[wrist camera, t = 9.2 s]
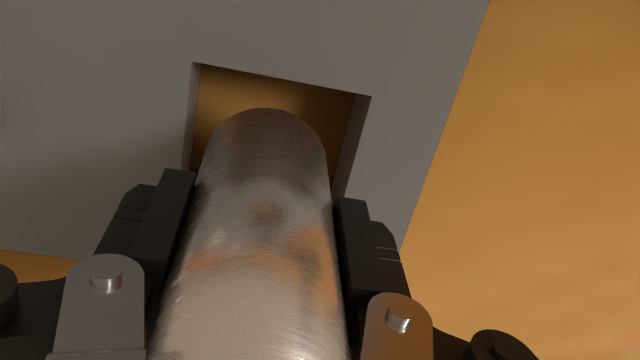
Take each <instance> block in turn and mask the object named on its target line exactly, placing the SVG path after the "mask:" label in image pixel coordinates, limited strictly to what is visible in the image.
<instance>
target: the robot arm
mask: <svg viewBox="0 0 640 360" xmlns="http://www.w3.org/2000/svg"><path fill="white" fill-rule="evenodd" d="M195 178H196V173H195V172H190V171H184V170H178V169H172V168H165V169H164V172H163V174H162V176H161V178H160V181H159V183H158V185H157V186H152V185H146V184H138V185H137V186H135V187H134V188H132V189H131V190H129V191H128V192H126V193H125V194H124V196H123V198H122V200H121V202H120V204H119V206H118V209H117V210H116V212H115V214H114V216H113V219H111V221H110V223H109V225H108V227H107V229H106V231H105V233H104V235H103V237H102V239H101V241H100V242H99V244H98V246H97V248H96V250H95V252H94V254H93V256H89V257H87V258H84V259H82V260H80V261H78V262H77V263H76V264H74V265H73V266H72V267H71V268H70V270H69V271H68V273H67V276H66V277H63V278H60V279H56V280H50V281H41V282H30V283H17V277H16V275H15V273H14V272H13V271H12V270H11V269H10V268H8V267H6V266H4V265H1V264H0V360H146V348H145V347H144V346H145V343H146V340H147V336H148V333H149V330H150V327H151V324H152V320H153V317H154V314H155V311H156V307H157V304H158V301H159V298H160V295H161V292H162V290H163V287H164V284H165V280H166V277H167V274H168V271H169V268H170V264H171V261H172V258H173V255H174V251H175V248H176V245H177V242H178V238H179V235H180V232H181V229H182V226H183V222H184V219H185V216H186V213H187V209H188V206H189V203H190V200H191V196H192V193H193V190H194V187H195ZM332 209H333V217H334V225H335V233H336V241H337V249H338V257H339V265H340V273H341V281H342V289H343V297H344V305H345V313H346V321H347V329H348V337H349V345H350V353H351V360H539V359H538V358H537V357H536V356H535V355H534V354H533V353H532V351H531V350H530V349H529V348H528V347H527V346H526V345H525V344H523V343H522V342H521V341H519V340H518V339H516V338H515V337H513V336H511V335H509V334H507V333H504V332H501V331H498V330H490V329H487V330H481V331H479V332H477V333H475V335H474V336H473V337H472V339H471V341H470V342H468V341H465V340H462V339H460V338H457V337H455V336H452V335H449V334H447V333H444V332H442V331H440V330H438V329H436V328H435V327H433V324H432V319H431V317H430V315H429V313H428V312H427V310H426V309H425V308H424V307H423V306H422V305H421V304H419V303H418V302H417V301H415V300H413V299H412V298H411V295H410V291H409V288H408V284H407V281H406V277H405V274H404V270H403V267H402V263H400V256H399V253H398V251H397V246H396V242H395V239H394V235H393V234H392V233H391V232H390V231H389V230H388V228H387V227H386V226H385V225H384V224H383V222H377V221H371V220H370V216H369V212H368V208H367V203H366V201H365V200H359V199H353V198H347V197H341V196H337V197H336V199H335V201H334V205H333V208H332Z"/></svg>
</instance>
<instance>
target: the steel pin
mask: <svg viewBox="0 0 640 360" xmlns="http://www.w3.org/2000/svg"><path fill="white" fill-rule="evenodd" d="M144 347H145V348H146V360H351V353H350V345H349V337H348V329H347V321H346V313H345V305H344V297H343V289H342V281H341V273H340V265H339V257H338V249H337V241H336V233H335V225H334V217H333V209H332V201H331V193H330V185H329V177H328V169H327V161H326V153H325V150H324V146H323V144H322V142H321V140H320V138H319V136H318V135H317V133H316V132H315V131H314V130H313V128H312V127H311V126H310V125H308V124H307V123H306V122H305V121H304V120H302V119H301V118H299V117H297V116H295V115H294V114H291V113H289V112H286V111H283V110H279V109H273V108H255V109H249V110H245V111H242V112H240V113H237V114H235V115H233V116H231V117H229V118H228V119H227V120H225V121H224V122H223V123H222V124H221V125H219V126H218V127H217V129H216V130H215V131H214V133H213V134H212V136H211V137H210V139H209V141H208V144H207V147H206V150H205V153H204V156H203V160H202V163H201V166H200V169H199V173H198V176H197V179H196V182H195V187H194V190H193V193H192V196H191V200H190V203H189V206H188V209H187V213H186V216H185V219H184V222H183V226H182V229H181V232H180V235H179V238H178V242H177V245H176V248H175V251H174V255H173V258H172V261H171V264H170V268H169V271H168V274H167V277H166V280H165V284H164V287H163V290H162V292H161V295H160V298H159V301H158V304H157V307H156V311H155V314H154V317H153V320H152V324H151V327H150V330H149V333H148V336H147V340H146V343H145V346H144Z"/></svg>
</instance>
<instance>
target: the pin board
mask: <svg viewBox="0 0 640 360" xmlns="http://www.w3.org/2000/svg"><path fill="white" fill-rule="evenodd" d="M489 1H490V0H0V250H7V251H14V252H22V253H29V254H37V255H44V256H51V257H59V258H66V259H73V260H82V259H84V258H87V257H89V256H93V254H94V252H95V250H96V248H97V246H98V244H99V242H100V241H101V239H102V237H103V235H104V233H105V231H106V229H107V227H108V225H109V223H110V221H111V219H113V216H114V214H115V212H116V210H117V209H118V206H119V204H120V202H121V200H122V198H123V196H124V194H125V193H126V192H128V191H129V190H131V189H132V188H134V187H135V186H137V185H138V184H146V185H152V186H157V185H158V183H159V181H160V178H161V176H162V174H163V172H164V169H165V168H172V169H178V170H184V171H190V164H191V155H192V146H193V137H194V129H195V120H196V111H197V102H198V93H199V84H200V75H201V66H202V63H203V64H208V65H213V66H218V67H224V68H229V69H234V70H239V71H244V72H249V73H255V74H260V75H265V76H270V77H275V78H281V79H286V80H291V81H296V82H301V83H306V84H312V85H317V86H322V87H327V88H332V89H337V90H343V91H348V92H353V93H356V96H355V99H354V103H353V107H352V111H351V115H350V118H349V122H348V126H347V130H346V134H345V137H344V141H343V145H342V149H341V153H340V156H339V160H338V164H337V168H336V172H335V175H334V179H333V183H332V187H331V190H330V193H331V201H332V208H333V205H334V201H335V199H336V197H337V196H341V197H347V198H353V199H359V200H365V201H366V203H367V208H368V212H369V216H370V220H371V221H377V222H383V224H384V225H385V226H386V227H387V228H388V230H389V231H390V232H391V233H392V234H393V235H394V239H395V242H396V246H397V251H398V253H399V251H400V248H401V246H402V243H403V240H404V237H405V234H406V232H407V229H408V226H409V223H410V220H411V218H412V215H413V212H414V209H415V207H416V204H417V201H418V198H419V195H420V193H421V190H422V187H423V184H424V181H425V179H426V176H427V173H428V170H429V168H430V165H431V162H432V159H433V156H434V154H435V151H436V148H437V145H438V143H439V140H440V137H441V134H442V131H443V129H444V126H445V123H446V120H447V117H448V115H449V112H450V109H451V106H452V104H453V101H454V98H455V95H456V92H457V90H458V87H459V84H460V81H461V78H462V76H463V73H464V70H465V67H466V65H467V62H468V59H469V56H470V53H471V51H472V48H473V45H474V42H475V39H476V37H477V34H478V31H479V28H480V26H481V23H482V20H483V17H484V14H485V12H486V9H487V6H488V3H489ZM195 182H196V179H195Z"/></svg>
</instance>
